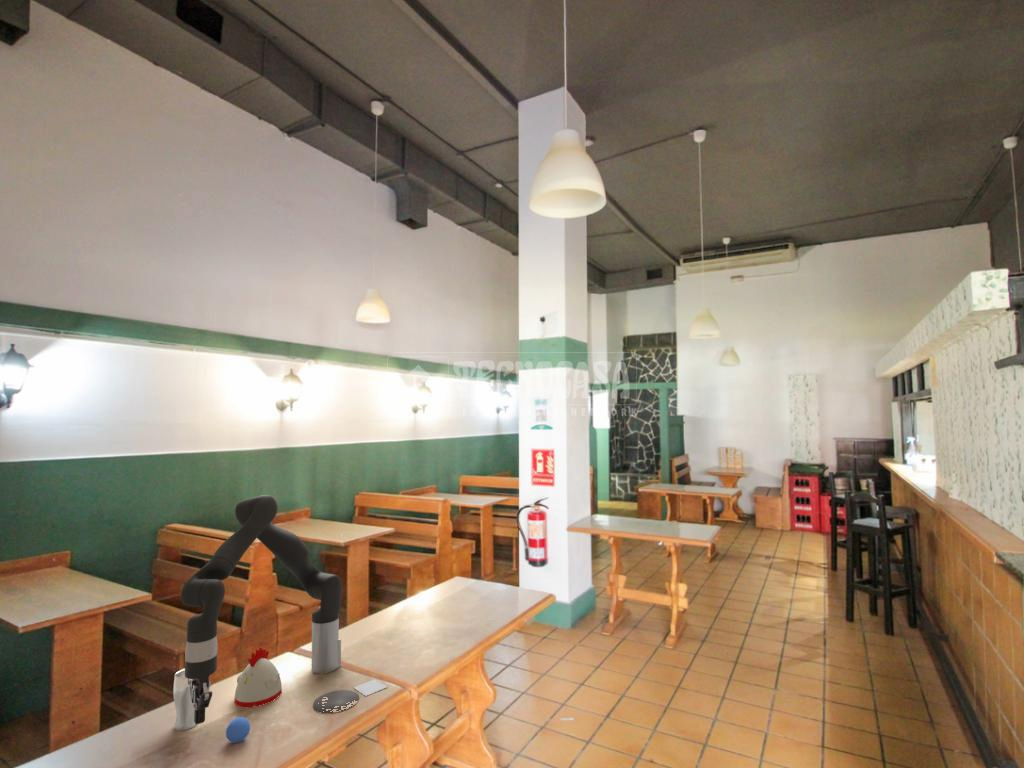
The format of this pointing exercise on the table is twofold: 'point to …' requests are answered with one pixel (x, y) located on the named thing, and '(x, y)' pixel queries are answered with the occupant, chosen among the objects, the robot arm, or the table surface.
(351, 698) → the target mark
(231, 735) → the ball
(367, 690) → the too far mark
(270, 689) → the kitchen timer
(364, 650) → the table surface
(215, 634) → the robot arm
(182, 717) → the beer glass
